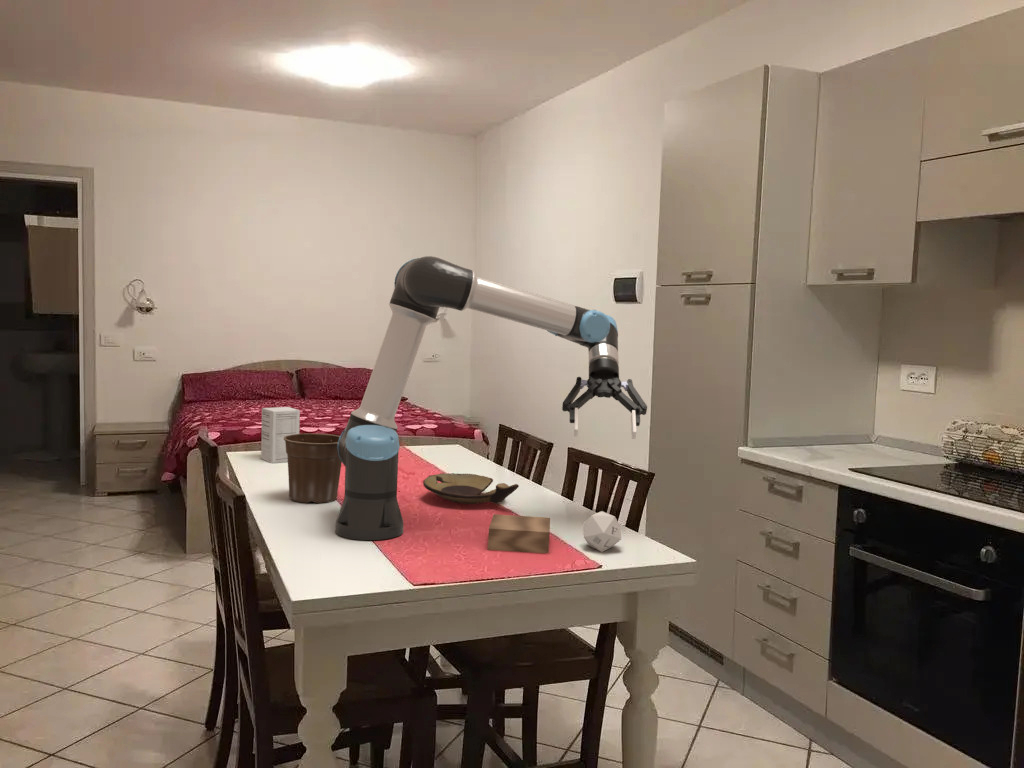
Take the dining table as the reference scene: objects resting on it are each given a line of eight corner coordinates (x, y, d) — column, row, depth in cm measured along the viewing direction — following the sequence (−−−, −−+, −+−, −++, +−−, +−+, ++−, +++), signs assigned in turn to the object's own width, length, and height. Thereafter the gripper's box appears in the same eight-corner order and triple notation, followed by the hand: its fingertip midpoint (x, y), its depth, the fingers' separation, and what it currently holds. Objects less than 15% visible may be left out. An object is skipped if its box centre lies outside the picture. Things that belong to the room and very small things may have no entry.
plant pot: (358, 497, 219) (360, 437, 218) (319, 508, 204) (321, 444, 203) (309, 489, 226) (310, 431, 224) (268, 500, 211) (270, 437, 210)
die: (580, 555, 177) (606, 525, 174) (569, 527, 184) (595, 497, 181) (608, 564, 181) (635, 535, 178) (597, 537, 188) (622, 508, 184)
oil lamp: (482, 488, 238) (483, 462, 237) (532, 513, 211) (533, 483, 211) (409, 493, 228) (410, 465, 227) (452, 519, 201) (453, 488, 200)
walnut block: (487, 551, 176) (488, 528, 175) (492, 535, 189) (493, 514, 188) (548, 555, 175) (549, 532, 175) (549, 539, 188) (550, 517, 188)
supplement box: (287, 456, 274) (289, 406, 272) (299, 461, 266) (301, 409, 265) (259, 458, 267) (261, 407, 266) (271, 463, 260) (272, 410, 259)
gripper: (651, 378, 209) (656, 445, 195) (553, 374, 210) (551, 441, 196) (655, 358, 203) (660, 426, 189) (554, 354, 204) (552, 422, 190)
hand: (605, 434), depth 193 cm, fingers open, 13 cm apart
